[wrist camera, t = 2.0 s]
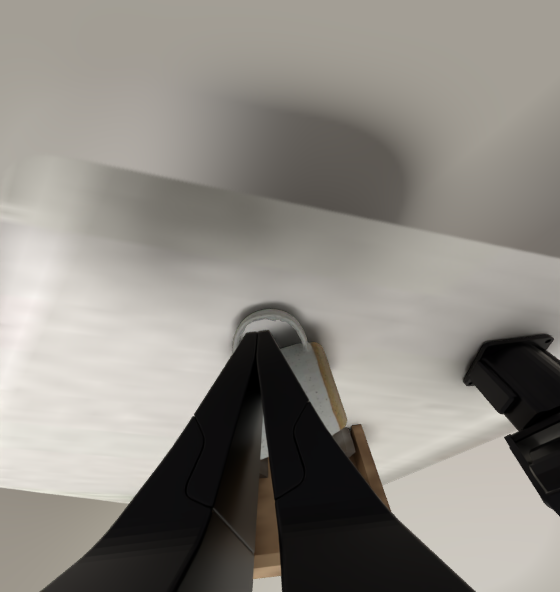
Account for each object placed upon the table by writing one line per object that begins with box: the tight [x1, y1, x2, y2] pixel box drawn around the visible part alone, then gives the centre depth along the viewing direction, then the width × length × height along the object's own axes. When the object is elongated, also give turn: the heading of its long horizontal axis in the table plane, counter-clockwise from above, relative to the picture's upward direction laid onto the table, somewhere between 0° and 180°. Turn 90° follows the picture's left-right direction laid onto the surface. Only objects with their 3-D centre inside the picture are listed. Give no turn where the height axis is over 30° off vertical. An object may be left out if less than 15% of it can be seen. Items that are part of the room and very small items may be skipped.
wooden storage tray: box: [253, 424, 391, 579], centre depth 28 cm, size 18×6×11 cm, turn 97°
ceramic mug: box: [232, 309, 347, 460], centre depth 19 cm, size 11×8×8 cm
